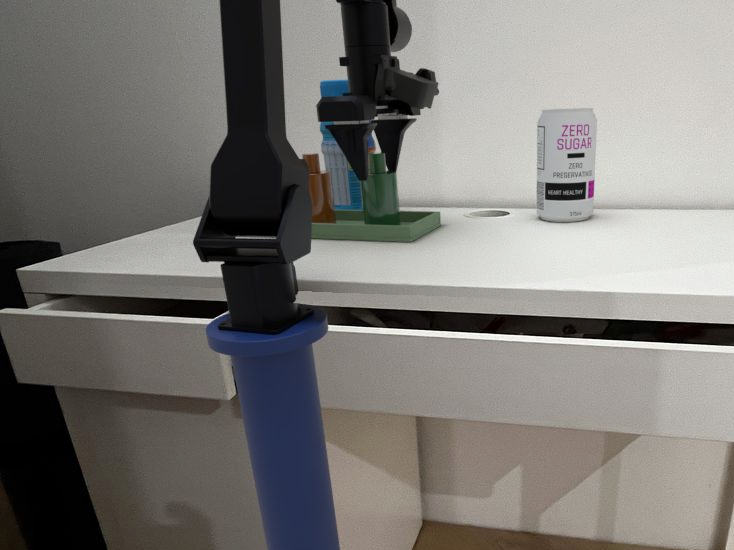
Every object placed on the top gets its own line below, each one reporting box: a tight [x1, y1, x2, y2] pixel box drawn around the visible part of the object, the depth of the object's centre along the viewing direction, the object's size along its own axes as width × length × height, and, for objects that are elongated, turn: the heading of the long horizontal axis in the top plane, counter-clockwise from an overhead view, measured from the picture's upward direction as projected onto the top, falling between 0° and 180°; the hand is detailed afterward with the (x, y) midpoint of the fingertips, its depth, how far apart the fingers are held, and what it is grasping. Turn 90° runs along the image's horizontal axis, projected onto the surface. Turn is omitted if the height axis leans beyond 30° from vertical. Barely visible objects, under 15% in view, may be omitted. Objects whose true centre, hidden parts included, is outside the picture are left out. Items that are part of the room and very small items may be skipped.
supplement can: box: [536, 107, 598, 223], centre depth 89 cm, size 8×8×15 cm
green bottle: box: [360, 152, 401, 225], centre depth 84 cm, size 5×5×10 cm
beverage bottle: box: [319, 79, 377, 210], centre depth 97 cm, size 8×8×20 cm
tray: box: [311, 209, 442, 243], centre depth 89 cm, size 11×31×2 cm, turn 72°
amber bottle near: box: [301, 152, 337, 224], centre depth 87 cm, size 5×5×10 cm
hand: (378, 176), depth 84 cm, fingers open, 9 cm apart
